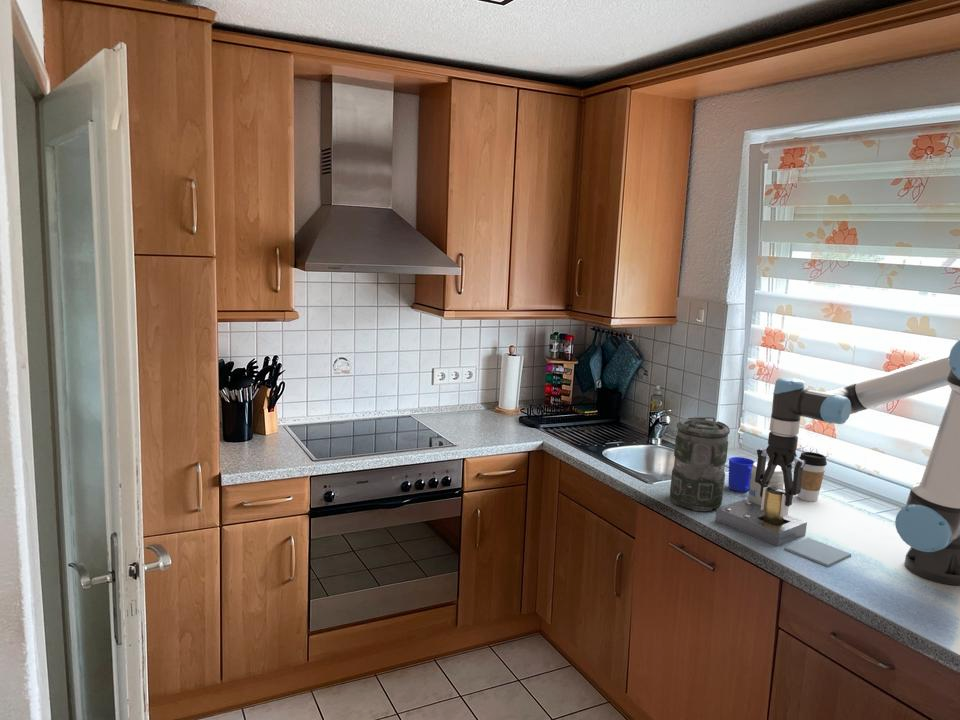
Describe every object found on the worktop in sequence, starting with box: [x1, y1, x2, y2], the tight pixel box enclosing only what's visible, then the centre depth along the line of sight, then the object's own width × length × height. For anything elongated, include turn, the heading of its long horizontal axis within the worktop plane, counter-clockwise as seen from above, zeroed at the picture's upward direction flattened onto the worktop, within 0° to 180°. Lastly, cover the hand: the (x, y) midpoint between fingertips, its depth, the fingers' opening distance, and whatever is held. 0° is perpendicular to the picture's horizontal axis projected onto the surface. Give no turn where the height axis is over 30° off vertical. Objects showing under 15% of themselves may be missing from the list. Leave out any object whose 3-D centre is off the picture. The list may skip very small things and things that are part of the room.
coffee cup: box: [797, 451, 828, 502], centre depth 233 cm, size 8×8×15 cm
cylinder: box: [763, 486, 785, 526], centre depth 203 cm, size 5×5×11 cm
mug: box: [727, 456, 755, 493], centre depth 237 cm, size 8×12×10 cm
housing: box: [715, 499, 808, 547], centre depth 207 cm, size 20×14×4 cm
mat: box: [784, 537, 852, 567], centre depth 193 cm, size 12×12×1 cm
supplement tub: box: [747, 461, 785, 505], centre depth 219 cm, size 10×10×15 cm
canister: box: [669, 416, 731, 512], centre depth 223 cm, size 16×16×28 cm
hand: (774, 512), depth 203 cm, fingers closed on cylinder, 5 cm apart
